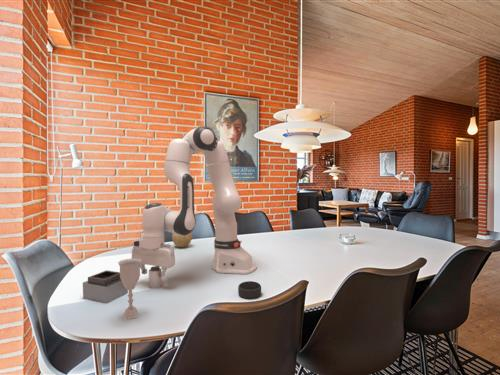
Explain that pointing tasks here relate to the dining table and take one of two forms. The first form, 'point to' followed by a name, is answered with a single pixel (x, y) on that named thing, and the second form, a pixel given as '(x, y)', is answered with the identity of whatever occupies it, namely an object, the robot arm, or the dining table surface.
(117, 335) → the dining table surface
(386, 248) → the dining table surface
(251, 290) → the smart speaker
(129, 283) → the chalice
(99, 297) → the motor block
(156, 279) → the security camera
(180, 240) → the fossilized egg
